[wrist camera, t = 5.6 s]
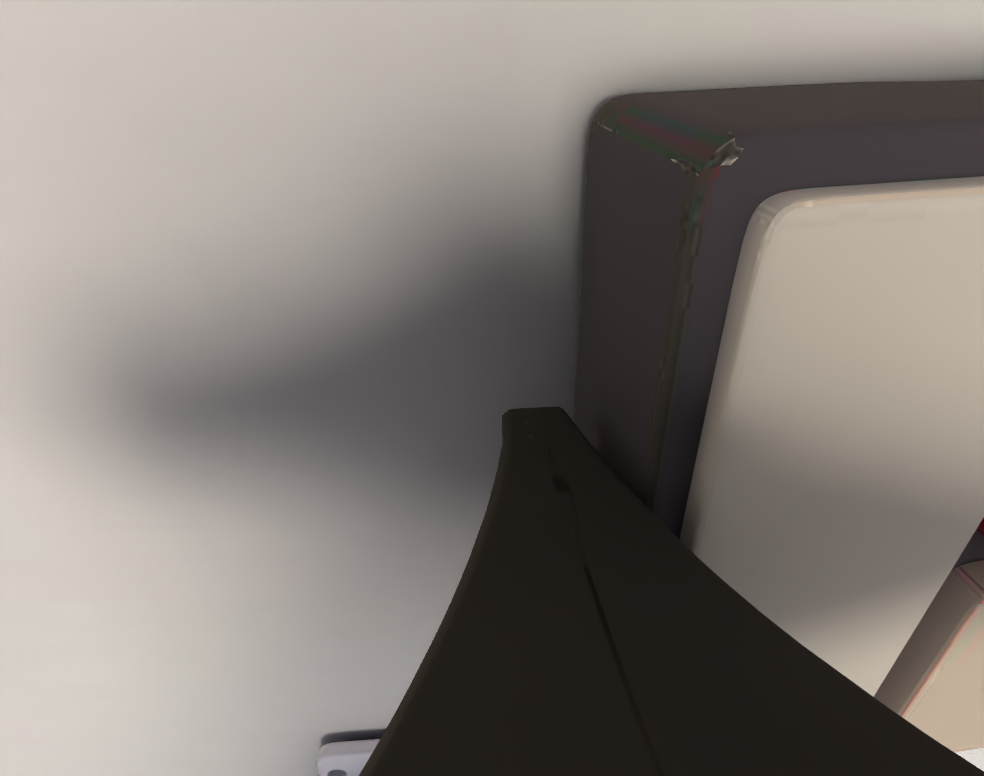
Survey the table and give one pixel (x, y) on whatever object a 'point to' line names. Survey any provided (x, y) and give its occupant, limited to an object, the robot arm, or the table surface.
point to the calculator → (804, 363)
